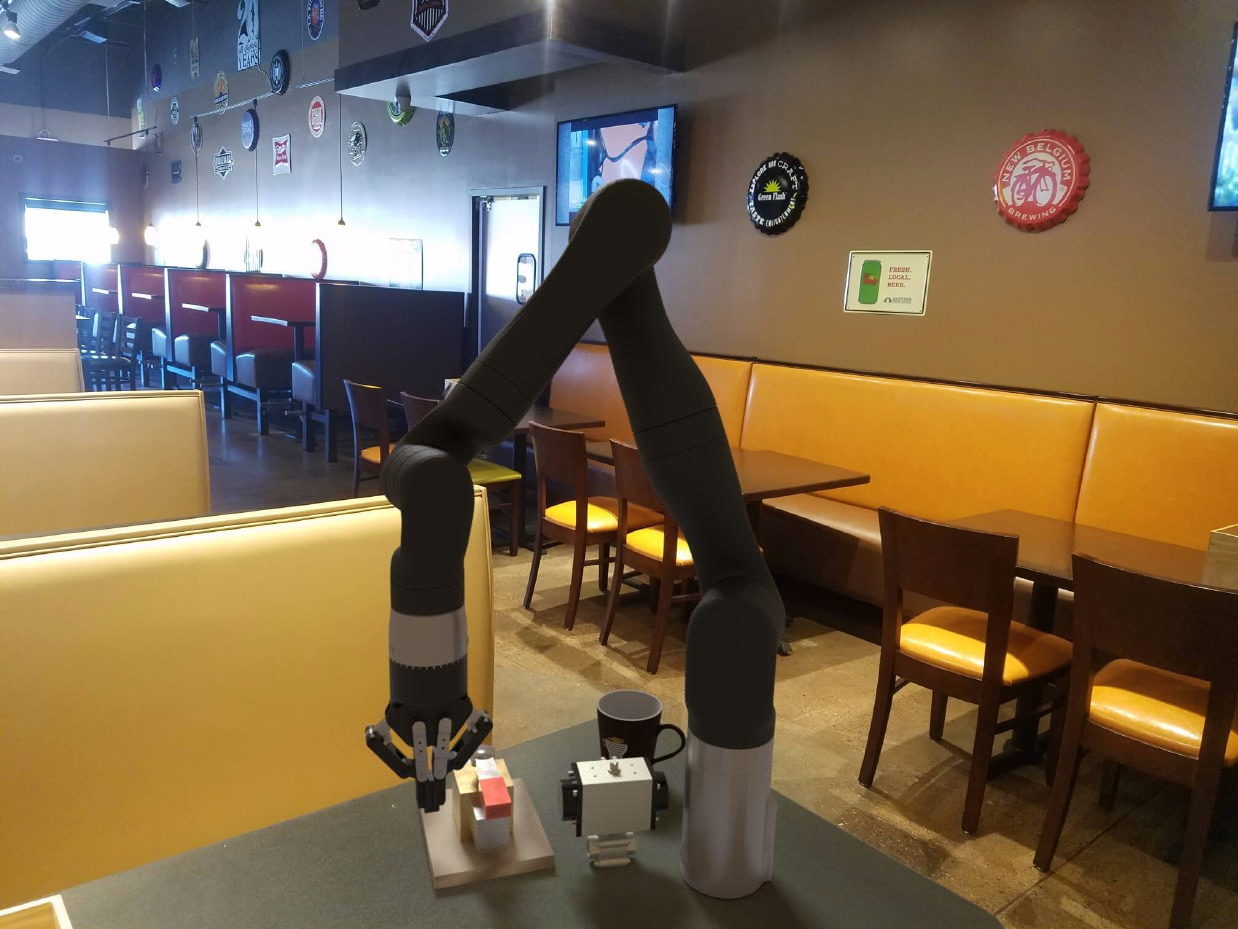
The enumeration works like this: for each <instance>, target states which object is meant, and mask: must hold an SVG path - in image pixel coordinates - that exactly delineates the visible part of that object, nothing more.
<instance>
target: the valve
mask: <svg viewBox="0 0 1238 929" xmlns="http://www.w3.org/2000/svg"><path fill="white" fill-rule="evenodd" d="M495 764H496V768H497V771H498V774H499V777H503V778H504V781H505V784H506V787H507V790H508V793H509V797H510V800H511V817H504V818H497V819H490V820H486V818H485V815H484V811H483V807H482V803H481V800H480V796H479V779H478V775H477V771H476V768H475V767H473V766H471V764H470V759H469V760H468V762H467V763H466V764H465V766H464V767H463V768H462V769H461V770H458V771H457V770H453V771H451V774H452V775H451V777H452V779H451V780H452V781H451V782H452V784H451V785H452V786H451V787H452V788H451V789H452V813H453V817H454V820H455V824H456V828H457V832H458V835H459V839H460V843H461V842H467V841H473V840H474V843H475V846H476V850H477V853H478V856H479V858H480V857H486V856H492V855H497V854H503V853H506V845H508V844H509V840H510V834H513V814H514V785H513V782H512V780H511V779H512V777H511V775H510V773H509V770H508V768H507V765H506V763H505V760H504V758H499V759H497V758H495Z"/></svg>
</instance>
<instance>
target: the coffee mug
mask: <svg viewBox="0 0 1238 929" xmlns="http://www.w3.org/2000/svg"><path fill="white" fill-rule="evenodd" d="M663 705H664V704H663V703H662V701H661V700H660V698H658V697H657V696H656V695H654V694H652V693H649V692H646V691H642V690H636V689H617V690H612V691H608V692H606V693H604V694H602V695H601V696H599V698H598V699H597V700H596V715H597V716H596V717H597V725H598V726H597V727H598V738H599V746H600V747H599V748H600V758H601V757H604V758H605V759H606V760H611V758H612V757H613V756H615V757H617V759H627V758H640V757H648V758H649V760H650V762H651V765H652V767H653V768H654V765H655V764H658V763H661V762H663V761H667V760H669V759H673V758H674V757H676V756H678V755H679V754H680V753H682V751H683V750H684V749H685V747H686V746H687V737H686V734H685V733H684V731H683V730H682V729H681V728H680V727H679V726H677V725H676V724H672V723H663V724H661V718H662V714H663V708H664V706H663ZM667 729H668V730H673V731H674V732H676V734H677V735H679V737H680V740H681V743H680V747H678V749H676V750H675V751H673V752H671V753H670V752H669V753H668V754H665V755H661V756H659V757H656V758H655V755H656V750H657V742H658V736H659V735H660V734H661V732H662V731H664V730H667Z"/></svg>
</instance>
